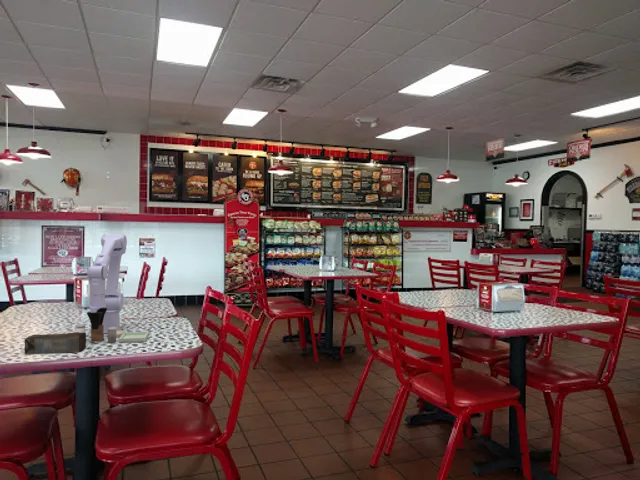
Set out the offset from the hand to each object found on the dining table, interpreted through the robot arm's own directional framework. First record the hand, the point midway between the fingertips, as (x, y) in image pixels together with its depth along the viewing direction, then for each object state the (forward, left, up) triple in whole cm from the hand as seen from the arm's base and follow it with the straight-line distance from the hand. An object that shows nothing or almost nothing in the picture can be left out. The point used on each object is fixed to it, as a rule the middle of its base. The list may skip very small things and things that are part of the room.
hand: (97, 327), depth 193 cm
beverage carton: (+15, -11, -6) cm, 20 cm away
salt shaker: (-3, -7, -5) cm, 9 cm away
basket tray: (+1, +15, -5) cm, 16 cm away
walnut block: (0, 0, -5) cm, 5 cm away
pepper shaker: (+5, +7, -5) cm, 10 cm away
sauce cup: (-6, +7, -5) cm, 10 cm away
